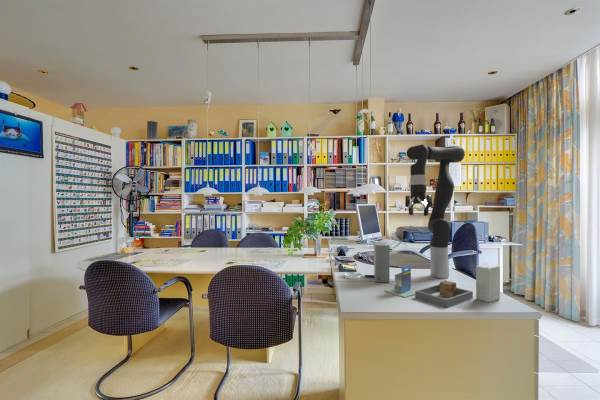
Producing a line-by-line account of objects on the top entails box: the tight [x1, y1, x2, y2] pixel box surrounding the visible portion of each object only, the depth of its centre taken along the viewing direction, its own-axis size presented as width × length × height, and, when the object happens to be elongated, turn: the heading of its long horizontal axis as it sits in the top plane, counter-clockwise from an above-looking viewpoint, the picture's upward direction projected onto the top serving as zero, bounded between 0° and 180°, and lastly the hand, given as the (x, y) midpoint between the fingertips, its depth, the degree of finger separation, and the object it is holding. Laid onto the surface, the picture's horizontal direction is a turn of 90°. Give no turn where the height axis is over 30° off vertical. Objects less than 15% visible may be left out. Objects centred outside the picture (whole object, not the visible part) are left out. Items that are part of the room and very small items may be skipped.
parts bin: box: [414, 283, 474, 308], centre depth 131 cm, size 20×15×3 cm
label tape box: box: [394, 264, 412, 294], centre depth 140 cm, size 9×4×12 cm, turn 133°
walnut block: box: [439, 280, 457, 298], centre depth 135 cm, size 5×5×6 cm
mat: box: [383, 286, 417, 298], centre depth 140 cm, size 12×12×1 cm
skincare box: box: [475, 263, 501, 303], centre depth 129 cm, size 8×6×15 cm
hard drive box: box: [373, 241, 390, 283], centre depth 164 cm, size 16×8×20 cm, turn 168°
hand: (418, 215), depth 151 cm, fingers open, 8 cm apart
